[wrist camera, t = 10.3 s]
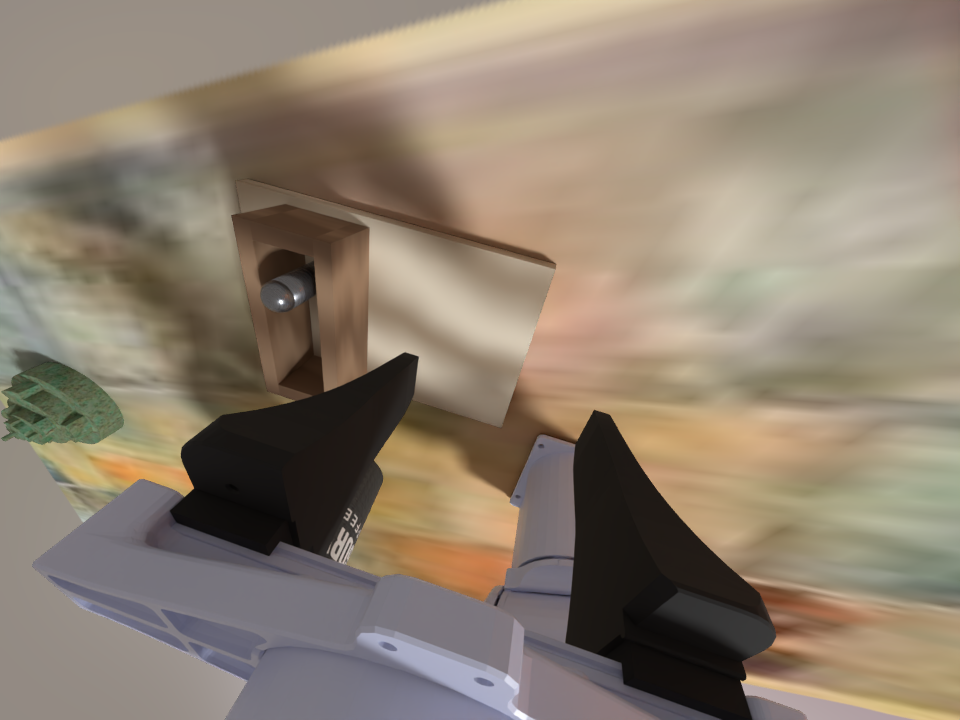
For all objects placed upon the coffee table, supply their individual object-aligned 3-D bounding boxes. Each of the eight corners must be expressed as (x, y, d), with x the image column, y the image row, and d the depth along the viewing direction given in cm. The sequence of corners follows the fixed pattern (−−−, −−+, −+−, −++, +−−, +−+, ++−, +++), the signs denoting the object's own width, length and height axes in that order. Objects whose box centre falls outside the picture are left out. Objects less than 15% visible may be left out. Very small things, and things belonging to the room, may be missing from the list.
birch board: (503, 419, 27) (501, 428, 26) (276, 348, 29) (267, 354, 28) (556, 264, 20) (555, 269, 19) (248, 178, 21) (235, 180, 21)
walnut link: (367, 381, 27) (338, 414, 24) (303, 361, 27) (267, 391, 24) (369, 227, 20) (330, 243, 17) (285, 204, 21) (231, 215, 17)
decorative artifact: (88, 365, 37) (23, 357, 39) (-3, 406, 31) (-73, 395, 33) (141, 433, 42) (81, 423, 44) (72, 479, 36) (7, 466, 38)
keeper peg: (342, 286, 23) (285, 322, 18) (318, 278, 23) (254, 312, 18) (342, 260, 22) (281, 291, 17) (316, 252, 22) (248, 281, 17)
